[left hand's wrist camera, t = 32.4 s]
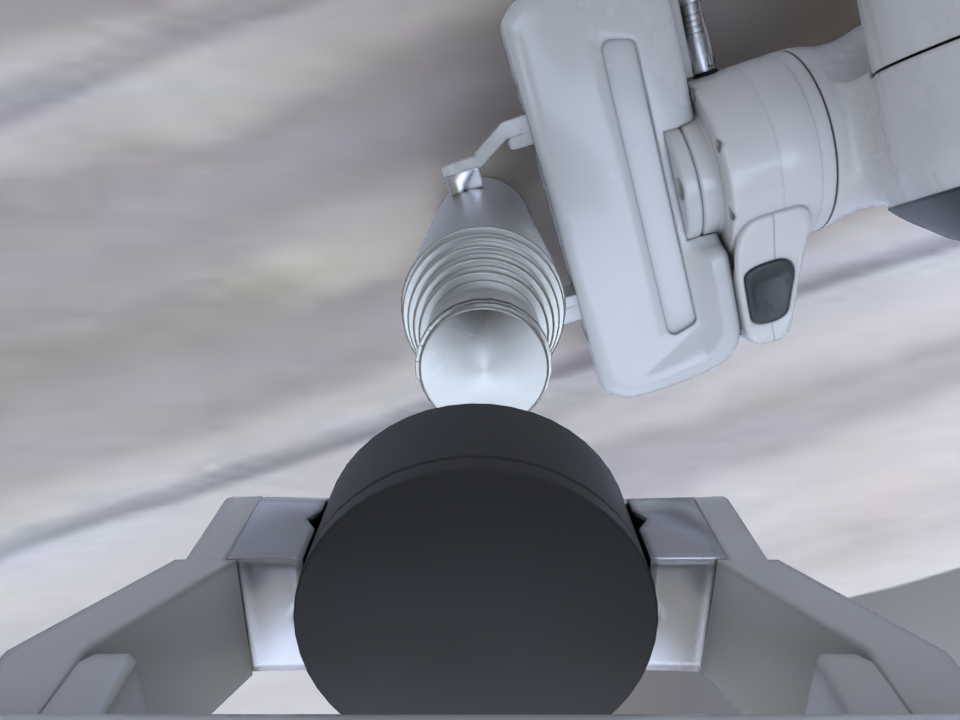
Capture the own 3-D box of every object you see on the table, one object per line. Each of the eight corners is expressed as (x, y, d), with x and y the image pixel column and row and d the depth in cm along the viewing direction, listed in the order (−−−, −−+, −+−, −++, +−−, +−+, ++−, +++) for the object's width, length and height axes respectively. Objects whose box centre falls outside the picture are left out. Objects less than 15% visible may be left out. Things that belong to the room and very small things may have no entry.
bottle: (529, 175, 39) (595, 259, 16) (529, 269, 41) (590, 464, 18) (434, 178, 40) (365, 266, 16) (439, 272, 41) (384, 469, 18)
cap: (270, 570, 10) (226, 665, 9) (435, 339, 9) (424, 395, 7) (510, 700, 11) (514, 811, 10) (690, 508, 10) (736, 593, 8)
